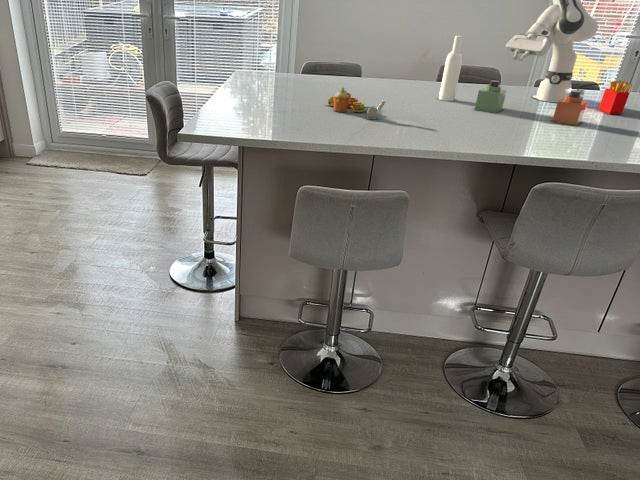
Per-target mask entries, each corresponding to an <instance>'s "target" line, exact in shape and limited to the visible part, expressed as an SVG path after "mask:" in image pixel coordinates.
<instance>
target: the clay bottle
mask: <svg viewBox="0 0 640 480" xmlns="http://www.w3.org/2000/svg"><path fill="white" fill-rule="evenodd" d="M569 96H570V95H566V96H565V98H563V99H561V100H559V101H558V102H556V106H555V110H554V113H553V115H552V116H553V117H552V120H551V123H557V124H562V125H569V126H578V125H579V124H580V123H581V122H582V120H583V117H584V114H585V111H586V108H587V105H588V102H589V101H588V100H584V96H581V95H580V97H579V98H576V97H569Z"/></svg>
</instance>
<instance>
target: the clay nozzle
mask: <svg viewBox="0 0 640 480" xmlns="http://www.w3.org/2000/svg"><path fill="white" fill-rule="evenodd" d="M570 92H571V93H570V96H569V97H576V98H579V97H580V96H581V94H582V91H580V90H578V91H577V90H571V91H570Z"/></svg>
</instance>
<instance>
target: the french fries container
mask: <svg viewBox="0 0 640 480" xmlns="http://www.w3.org/2000/svg"><path fill="white" fill-rule="evenodd" d="M632 85H633V83H629V82H626V81H622V80H619V81H618V80H614V81H613V80H612V81H610V82H609V87H608V88H605V89H604V92H603V94H602V97H601V100H600V103H599V106H598V109H597V110H598V111H600V112H602V113H605V114H608V115H622V113H623V112H624V110H625V107H626V105H627V102H628V99H629V96H630V94H631V93H630V90H631V87H632Z"/></svg>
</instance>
